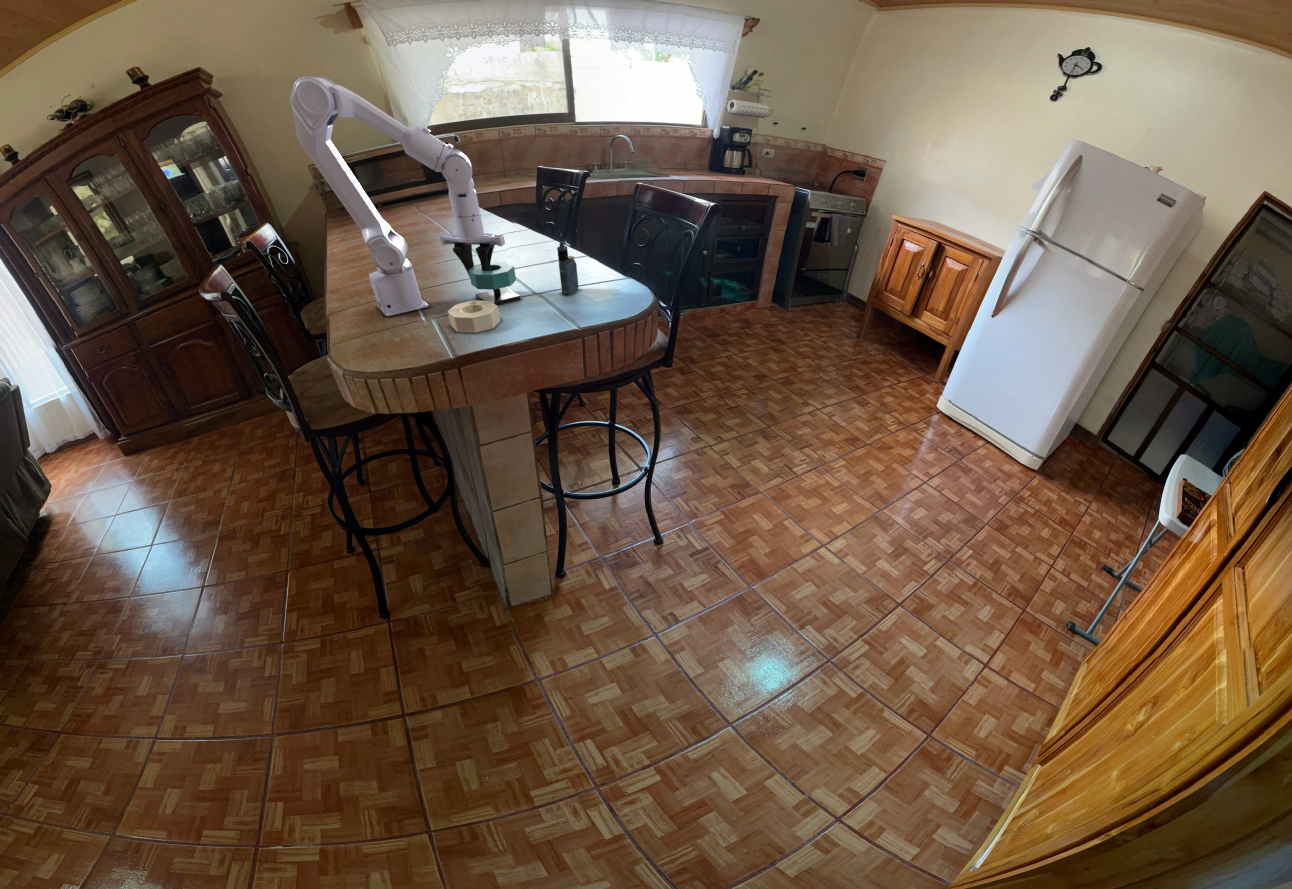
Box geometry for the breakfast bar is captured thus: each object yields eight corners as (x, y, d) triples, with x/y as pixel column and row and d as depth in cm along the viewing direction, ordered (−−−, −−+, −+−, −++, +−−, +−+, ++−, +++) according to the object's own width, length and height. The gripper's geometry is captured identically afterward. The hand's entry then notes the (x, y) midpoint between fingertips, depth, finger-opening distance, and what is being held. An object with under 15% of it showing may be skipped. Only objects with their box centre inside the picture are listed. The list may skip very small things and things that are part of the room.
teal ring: (482, 292, 114) (479, 277, 112) (467, 281, 121) (463, 267, 118) (521, 283, 119) (519, 268, 117) (504, 273, 125) (501, 259, 123)
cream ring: (462, 336, 105) (458, 321, 103) (446, 322, 111) (442, 307, 109) (505, 325, 109) (502, 309, 107) (488, 311, 116) (485, 297, 113)
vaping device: (559, 294, 124) (553, 243, 117) (572, 287, 127) (566, 238, 120) (568, 296, 123) (563, 245, 116) (580, 289, 126) (575, 239, 119)
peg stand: (489, 307, 117) (484, 282, 114) (476, 298, 123) (470, 273, 119) (520, 299, 121) (516, 274, 118) (506, 290, 126) (502, 266, 123)
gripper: (504, 210, 113) (515, 271, 122) (444, 209, 115) (458, 269, 123) (493, 218, 108) (504, 281, 116) (429, 217, 110) (445, 279, 118)
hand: (480, 276), depth 119 cm, fingers closed on teal ring, 3 cm apart
